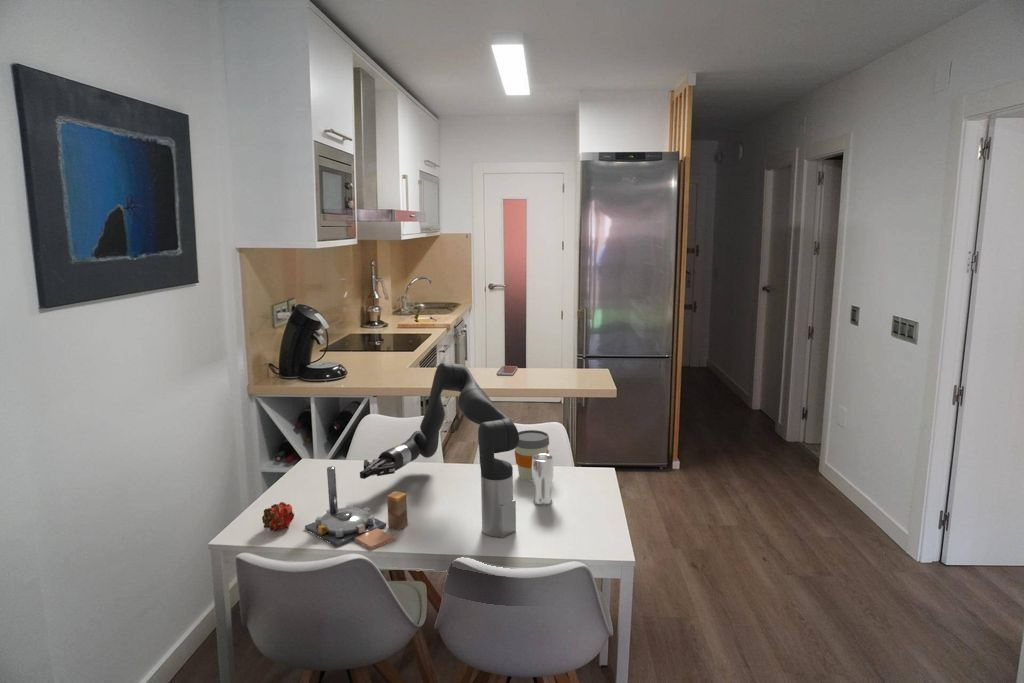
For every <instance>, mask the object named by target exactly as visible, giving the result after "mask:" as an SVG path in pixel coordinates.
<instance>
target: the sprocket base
mask: <svg viewBox="0 0 1024 683" xmlns="http://www.w3.org/2000/svg"><path fill="white" fill-rule="evenodd" d="M386 527H387V523H386V522H384V521H382V520H380V519H378V518H376V517H375V522H374V524H371V525H368V526H367V527H365V532H362V533H360V534H359V533H357V532H354V533H350V534H344V536H343V537H336V535H335V534H329V533H325V534H323V535H322V534H320V533H318V526H316V521H314V522H312V523H308V524H306V525H304V529H305V530H306V531H308V532H309V531H310V532H309V533H311V532H312V533H311V534H313V533H314V534H313V535H314V536H316V537H318V536H319V537H318V538H320V537H321V538H320V539H322V538H323V539H322V540H323V541H325V540H326V542H327V541H328V542H327V543H329V542H330V543H329V544H331V545H332V544H333V545H332V546H334V545H335V547H337V548H339V547H341V546H343V545H345V544H348V543H351V542H354V541H355V537H357V536H360V535H362V534H364V533H367V532H369V531H372V530H374V529H376V528H378V529H380V530H382V529H384V528H386ZM381 528H382V529H381Z"/></svg>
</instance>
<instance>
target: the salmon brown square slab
mask: <svg viewBox="0 0 1024 683" xmlns="http://www.w3.org/2000/svg"><path fill="white" fill-rule="evenodd" d="M354 541H355V542H356V543H358V544H360V545H361V544H362V546H363V545H364V546H363V547H365V548H367V549H369V550H374V549H376V548H378V547H381V546H383V545H385V544H388V543H390V542H392V541H395V536H394V535H392V534H391V533H388V532H387V531H385V530H382V529H378V528H376V529H374V530H372V531H369V532H367V533H364V534H362V535H360V536H357V537H355V540H354Z"/></svg>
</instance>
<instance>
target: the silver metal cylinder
mask: <svg viewBox="0 0 1024 683" xmlns="http://www.w3.org/2000/svg"><path fill="white" fill-rule="evenodd" d="M554 470H555V469H554V457H553V456H552V455H550V454H549V453H548V454H537V455H534V456H533V457H532V478H533V481H532V482H533V489H534V496H533V503H534V504H535V505H538V506H548V505H551V504H552V503H553V499H552V498H553V497H552V484H553V479H554Z"/></svg>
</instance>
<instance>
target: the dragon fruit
mask: <svg viewBox="0 0 1024 683" xmlns="http://www.w3.org/2000/svg"><path fill="white" fill-rule="evenodd" d="M294 518H295V513H294V512H293V507H292V505H291V504H290V503H287V504H286V503H285V502H283V501H281V502H280V503H278V504H276V503H275V504H273V505H271V506H270V507H268V508H265V509H263V515H262V517H261V519H262V520H261V521H262V524H263V528H264V529H269V531H271V532H276V531H277V532H278V531H280V529H281V530H288V529H289V526H290V524H291V523H292V522H293V520H294Z"/></svg>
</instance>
